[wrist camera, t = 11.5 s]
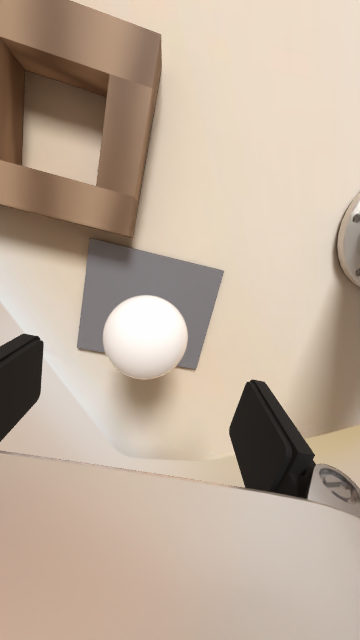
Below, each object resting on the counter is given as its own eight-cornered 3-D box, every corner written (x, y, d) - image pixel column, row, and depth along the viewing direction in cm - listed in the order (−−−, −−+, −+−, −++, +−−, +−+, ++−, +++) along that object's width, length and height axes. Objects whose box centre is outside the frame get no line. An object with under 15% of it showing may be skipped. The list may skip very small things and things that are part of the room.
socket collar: (161, 67, 19) (161, 34, 16) (132, 237, 23) (128, 235, 20) (-18, 3, 17) (-54, -46, 14) (-17, 200, 21) (-46, 192, 18)
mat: (223, 270, 24) (224, 270, 24) (195, 367, 27) (195, 369, 27) (91, 238, 22) (89, 238, 22) (78, 346, 26) (76, 347, 25)
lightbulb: (170, 344, 26) (173, 407, 15) (116, 328, 25) (80, 384, 14) (188, 292, 24) (207, 324, 14) (131, 273, 23) (104, 291, 13)
